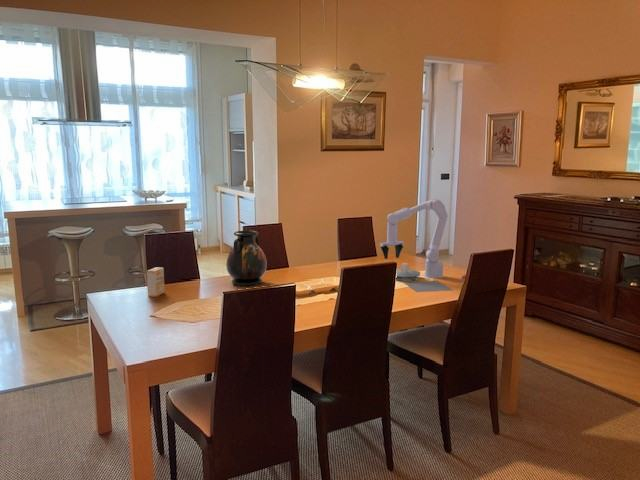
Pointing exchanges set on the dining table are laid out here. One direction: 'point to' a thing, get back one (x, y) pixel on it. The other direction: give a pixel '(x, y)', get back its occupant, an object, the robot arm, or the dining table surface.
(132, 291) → the dining table surface
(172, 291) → the dining table surface
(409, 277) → the decorative bowl
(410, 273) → the lid
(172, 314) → the dining table surface
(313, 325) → the dining table surface
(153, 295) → the supplement box
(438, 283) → the mat
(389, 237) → the robot arm
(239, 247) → the amphora vase
